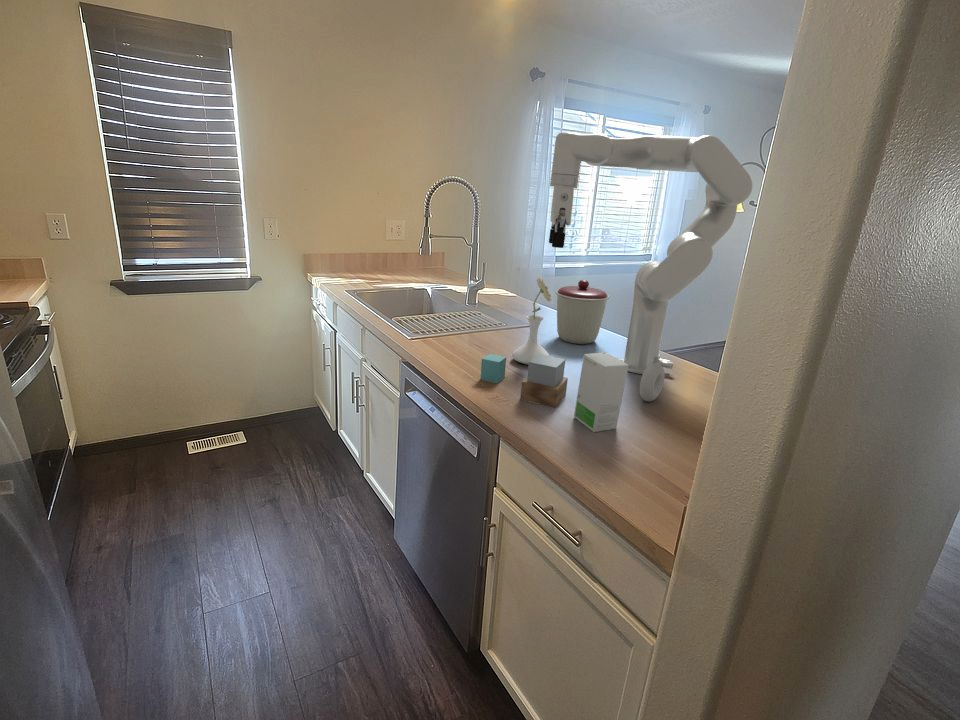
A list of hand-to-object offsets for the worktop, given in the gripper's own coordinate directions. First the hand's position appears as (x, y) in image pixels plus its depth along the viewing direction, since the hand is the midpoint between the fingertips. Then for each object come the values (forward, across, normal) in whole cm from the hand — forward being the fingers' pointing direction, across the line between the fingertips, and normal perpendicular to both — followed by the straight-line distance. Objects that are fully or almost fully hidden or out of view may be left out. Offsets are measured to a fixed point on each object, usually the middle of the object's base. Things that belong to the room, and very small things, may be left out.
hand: (555, 245), depth 147 cm
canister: (+34, +24, -14) cm, 44 cm away
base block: (+35, -30, +2) cm, 46 cm away
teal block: (+35, -20, +14) cm, 42 cm away
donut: (+34, -27, -26) cm, 50 cm away
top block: (+30, -30, +2) cm, 42 cm away
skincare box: (+34, -43, -9) cm, 56 cm away
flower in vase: (+35, -3, +3) cm, 35 cm away
